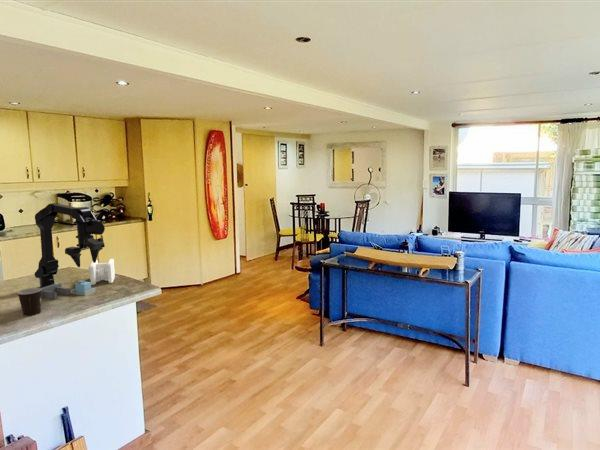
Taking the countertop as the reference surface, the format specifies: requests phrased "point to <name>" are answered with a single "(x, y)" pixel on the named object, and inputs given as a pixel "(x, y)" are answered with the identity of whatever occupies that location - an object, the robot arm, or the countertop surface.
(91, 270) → the cable organizer
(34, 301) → the coffee mug
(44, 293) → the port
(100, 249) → the robot arm
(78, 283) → the light blue block
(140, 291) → the countertop surface
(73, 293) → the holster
